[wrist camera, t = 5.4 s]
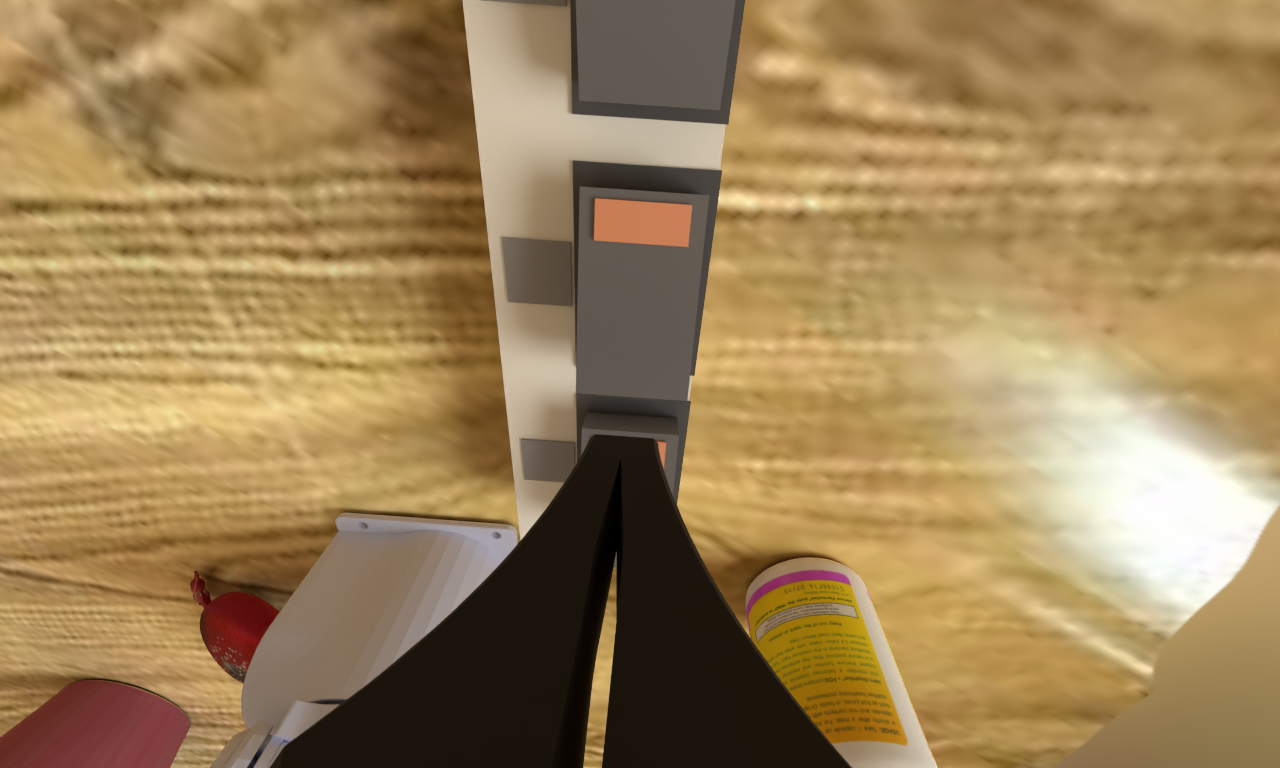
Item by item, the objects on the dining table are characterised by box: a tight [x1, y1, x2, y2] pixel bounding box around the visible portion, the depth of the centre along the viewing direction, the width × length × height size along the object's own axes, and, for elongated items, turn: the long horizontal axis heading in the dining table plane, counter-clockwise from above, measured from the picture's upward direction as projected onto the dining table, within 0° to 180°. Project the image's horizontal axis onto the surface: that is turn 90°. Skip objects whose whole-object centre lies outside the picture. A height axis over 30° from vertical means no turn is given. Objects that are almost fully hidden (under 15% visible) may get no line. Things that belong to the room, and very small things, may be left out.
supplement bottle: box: [745, 557, 938, 768], centre depth 22 cm, size 7×7×13 cm
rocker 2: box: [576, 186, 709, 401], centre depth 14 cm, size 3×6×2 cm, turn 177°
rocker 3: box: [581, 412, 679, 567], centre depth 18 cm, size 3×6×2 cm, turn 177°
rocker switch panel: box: [463, 0, 745, 540], centre depth 16 cm, size 6×25×4 cm, turn 177°
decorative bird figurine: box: [190, 571, 280, 683], centre depth 30 cm, size 3×18×10 cm
